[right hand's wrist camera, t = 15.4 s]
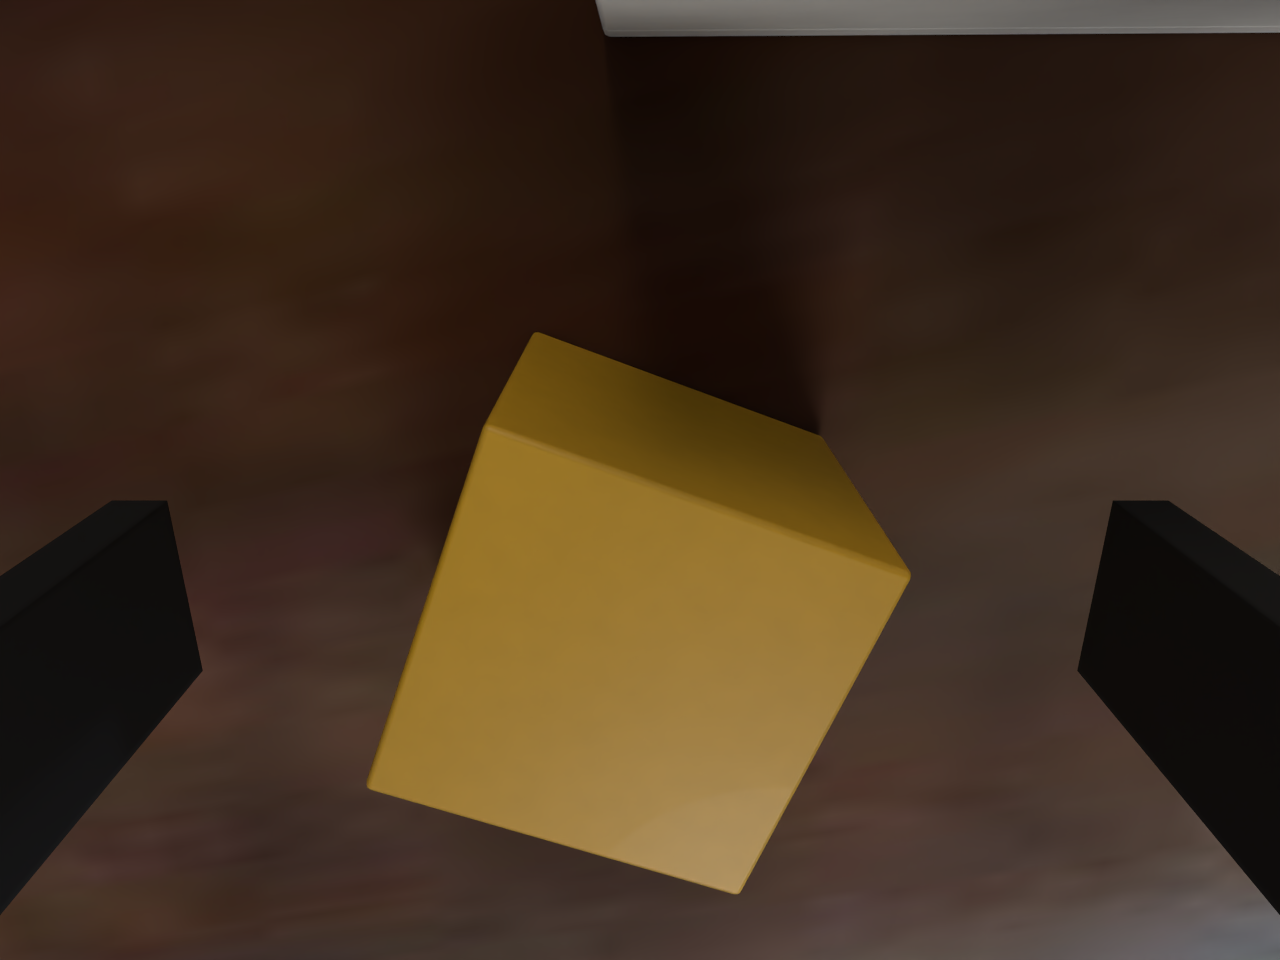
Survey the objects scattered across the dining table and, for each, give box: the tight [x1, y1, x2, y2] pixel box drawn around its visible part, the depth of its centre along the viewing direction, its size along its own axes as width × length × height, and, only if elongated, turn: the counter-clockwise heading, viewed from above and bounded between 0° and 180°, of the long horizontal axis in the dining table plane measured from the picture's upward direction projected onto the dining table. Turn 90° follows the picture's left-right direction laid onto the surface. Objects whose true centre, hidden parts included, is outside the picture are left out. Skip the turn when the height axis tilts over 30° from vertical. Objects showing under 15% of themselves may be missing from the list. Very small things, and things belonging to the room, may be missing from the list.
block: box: [367, 332, 911, 894], centre depth 13 cm, size 5×5×5 cm
